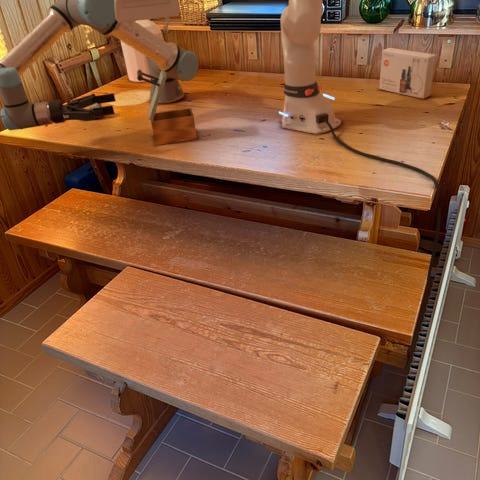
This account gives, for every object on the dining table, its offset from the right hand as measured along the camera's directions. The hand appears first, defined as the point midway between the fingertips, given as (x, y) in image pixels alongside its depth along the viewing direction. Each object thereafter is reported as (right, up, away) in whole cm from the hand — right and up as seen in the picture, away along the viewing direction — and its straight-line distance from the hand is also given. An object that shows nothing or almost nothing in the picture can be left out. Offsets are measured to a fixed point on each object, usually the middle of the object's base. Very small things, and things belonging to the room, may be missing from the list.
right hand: (151, 34), depth 149 cm
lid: (0, -16, +11) cm, 20 cm away
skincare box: (+96, -7, +39) cm, 104 cm away
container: (-20, +20, +94) cm, 98 cm away
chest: (+5, -29, +20) cm, 36 cm away
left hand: (-15, -19, +9) cm, 26 cm away
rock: (-34, -14, +47) cm, 60 cm away
